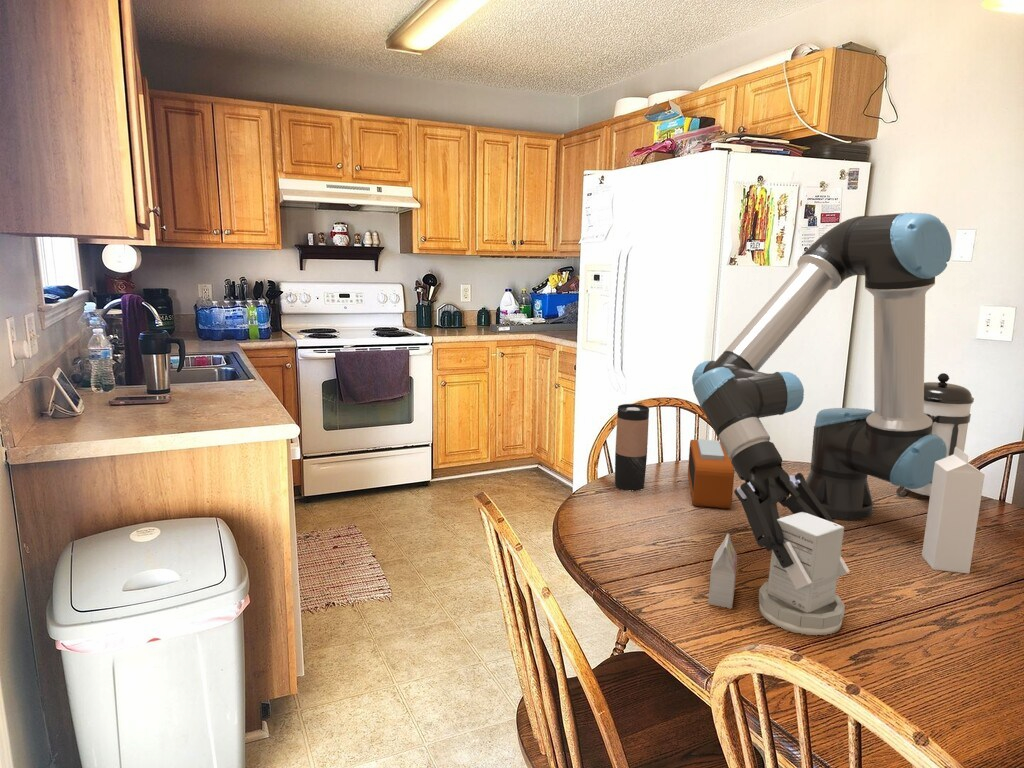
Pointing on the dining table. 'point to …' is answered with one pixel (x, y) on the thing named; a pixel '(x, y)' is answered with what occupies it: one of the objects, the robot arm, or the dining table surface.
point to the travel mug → (631, 446)
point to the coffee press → (945, 418)
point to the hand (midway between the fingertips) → (823, 580)
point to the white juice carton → (723, 575)
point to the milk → (952, 514)
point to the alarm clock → (710, 474)
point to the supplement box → (808, 561)
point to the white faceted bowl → (801, 615)
